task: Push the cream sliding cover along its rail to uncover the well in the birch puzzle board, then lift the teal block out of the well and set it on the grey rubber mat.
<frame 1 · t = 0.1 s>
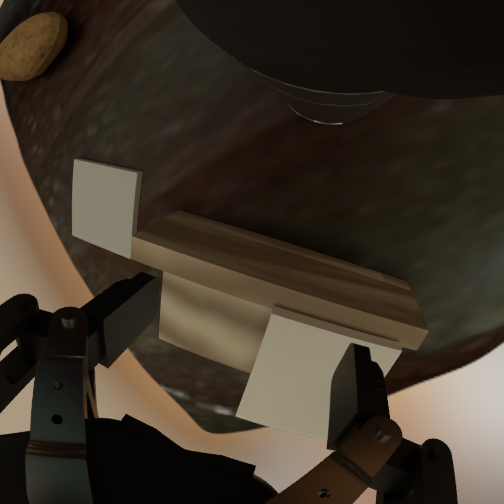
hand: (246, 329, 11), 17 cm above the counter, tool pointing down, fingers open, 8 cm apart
cover: (308, 398, 21), point 10 cm above the counter, slide at 0.0 cm
mat: (105, 205, 32), on the counter
potato: (54, 48, 25), on the counter
puzzle board: (272, 312, 31), on the counter
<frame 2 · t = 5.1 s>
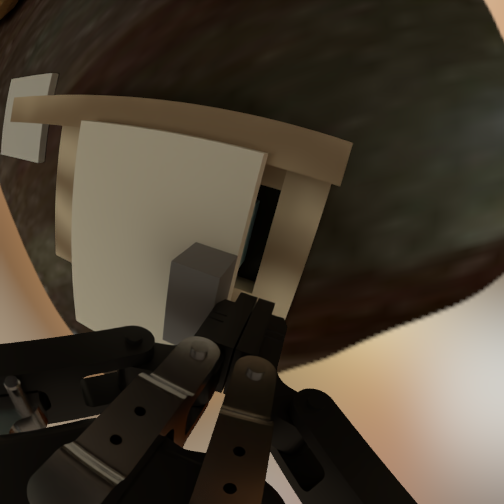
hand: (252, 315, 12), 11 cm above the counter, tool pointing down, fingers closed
cover: (129, 265, 14), point 10 cm above the counter, slide at 1.3 cm, touching gripper
mat: (27, 116, 24), on the counter
puzzle board: (166, 205, 24), on the counter
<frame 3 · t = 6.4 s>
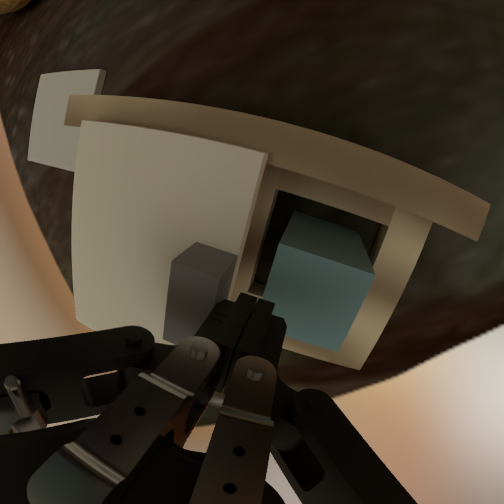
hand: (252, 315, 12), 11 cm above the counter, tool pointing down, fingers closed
cover: (129, 265, 14), point 10 cm above the counter, slide at 9.0 cm, touching gripper
mat: (63, 118, 23), on the counter
block: (316, 251, 22), resting in puzzle board
puzzle board: (253, 231, 23), on the counter
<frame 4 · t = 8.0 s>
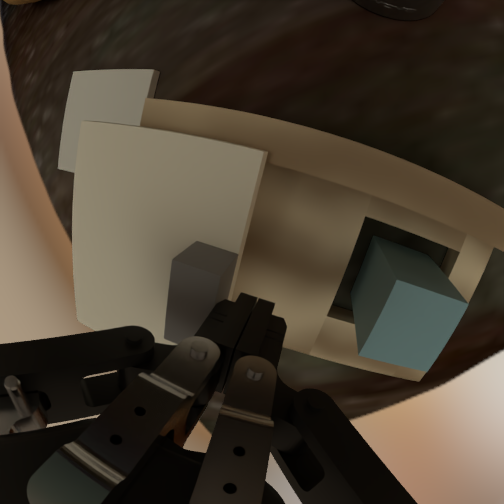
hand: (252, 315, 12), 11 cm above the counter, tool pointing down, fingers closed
cover: (130, 264, 14), point 10 cm above the counter, slide at 15.2 cm, touching gripper
mat: (104, 122, 22), on the counter
block: (390, 274, 21), resting in puzzle board
puzzle board: (331, 255, 22), on the counter
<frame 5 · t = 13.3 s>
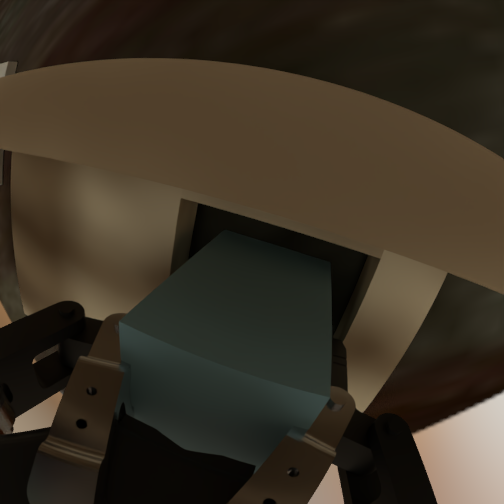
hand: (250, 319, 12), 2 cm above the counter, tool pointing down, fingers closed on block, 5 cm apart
block: (263, 292, 14), resting in puzzle board, touching gripper
puzzle board: (169, 262, 15), on the counter
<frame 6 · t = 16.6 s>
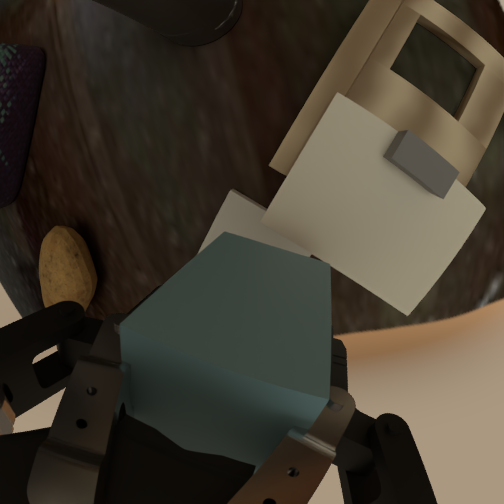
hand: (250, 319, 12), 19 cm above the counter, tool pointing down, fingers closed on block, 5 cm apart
cover: (385, 215, 17), point 10 cm above the counter, slide at 15.4 cm
mat: (252, 253, 31), on the counter
block: (263, 294, 14), point 16 cm above the counter, touching gripper
potato: (85, 261, 38), on the counter
puzzle board: (415, 105, 22), on the counter
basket: (17, 128, 34), on the counter
when the fingers open (5 cm above the counter, at t = 20.2 s): block drops 1 cm, resting on mat.
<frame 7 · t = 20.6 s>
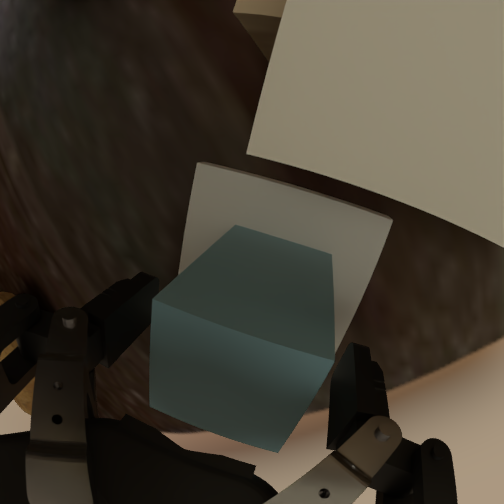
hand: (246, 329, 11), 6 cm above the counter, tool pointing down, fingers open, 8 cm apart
mat: (271, 273, 16), on the counter
block: (270, 282, 15), point 1 cm above the counter, touching mat
potato: (50, 333, 25), on the counter
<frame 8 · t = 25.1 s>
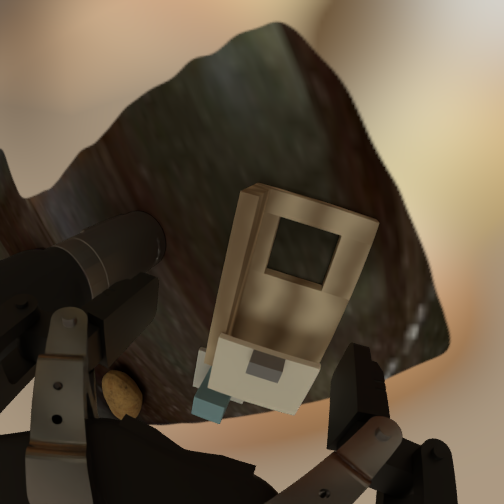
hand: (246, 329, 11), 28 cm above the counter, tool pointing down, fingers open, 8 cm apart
cover: (258, 384, 35), point 10 cm above the counter, slide at 15.4 cm
mat: (223, 375, 50), on the counter
block: (222, 379, 49), point 1 cm above the counter, touching mat
potato: (131, 382, 59), on the counter
puzzle board: (292, 282, 41), on the counter
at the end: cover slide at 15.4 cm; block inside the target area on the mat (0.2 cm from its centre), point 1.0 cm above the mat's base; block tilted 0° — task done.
